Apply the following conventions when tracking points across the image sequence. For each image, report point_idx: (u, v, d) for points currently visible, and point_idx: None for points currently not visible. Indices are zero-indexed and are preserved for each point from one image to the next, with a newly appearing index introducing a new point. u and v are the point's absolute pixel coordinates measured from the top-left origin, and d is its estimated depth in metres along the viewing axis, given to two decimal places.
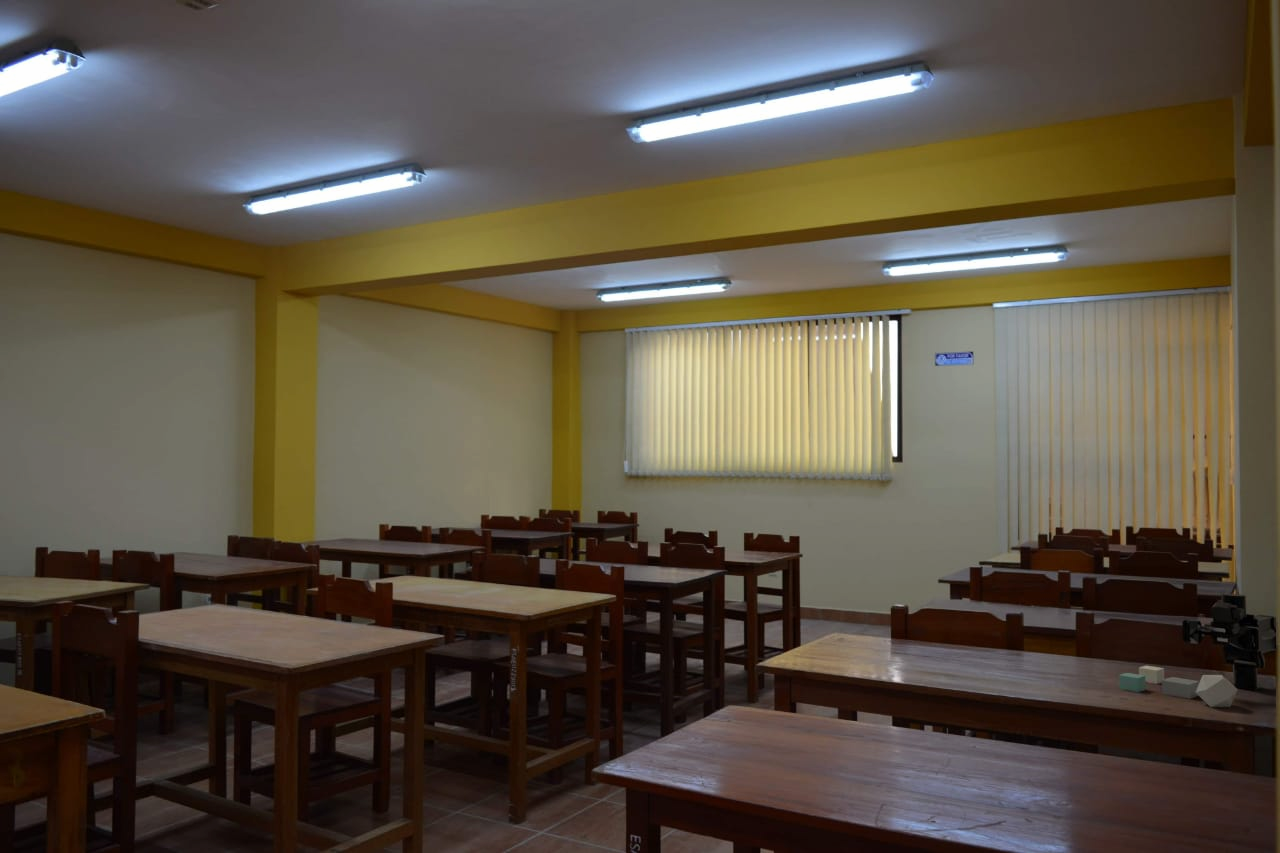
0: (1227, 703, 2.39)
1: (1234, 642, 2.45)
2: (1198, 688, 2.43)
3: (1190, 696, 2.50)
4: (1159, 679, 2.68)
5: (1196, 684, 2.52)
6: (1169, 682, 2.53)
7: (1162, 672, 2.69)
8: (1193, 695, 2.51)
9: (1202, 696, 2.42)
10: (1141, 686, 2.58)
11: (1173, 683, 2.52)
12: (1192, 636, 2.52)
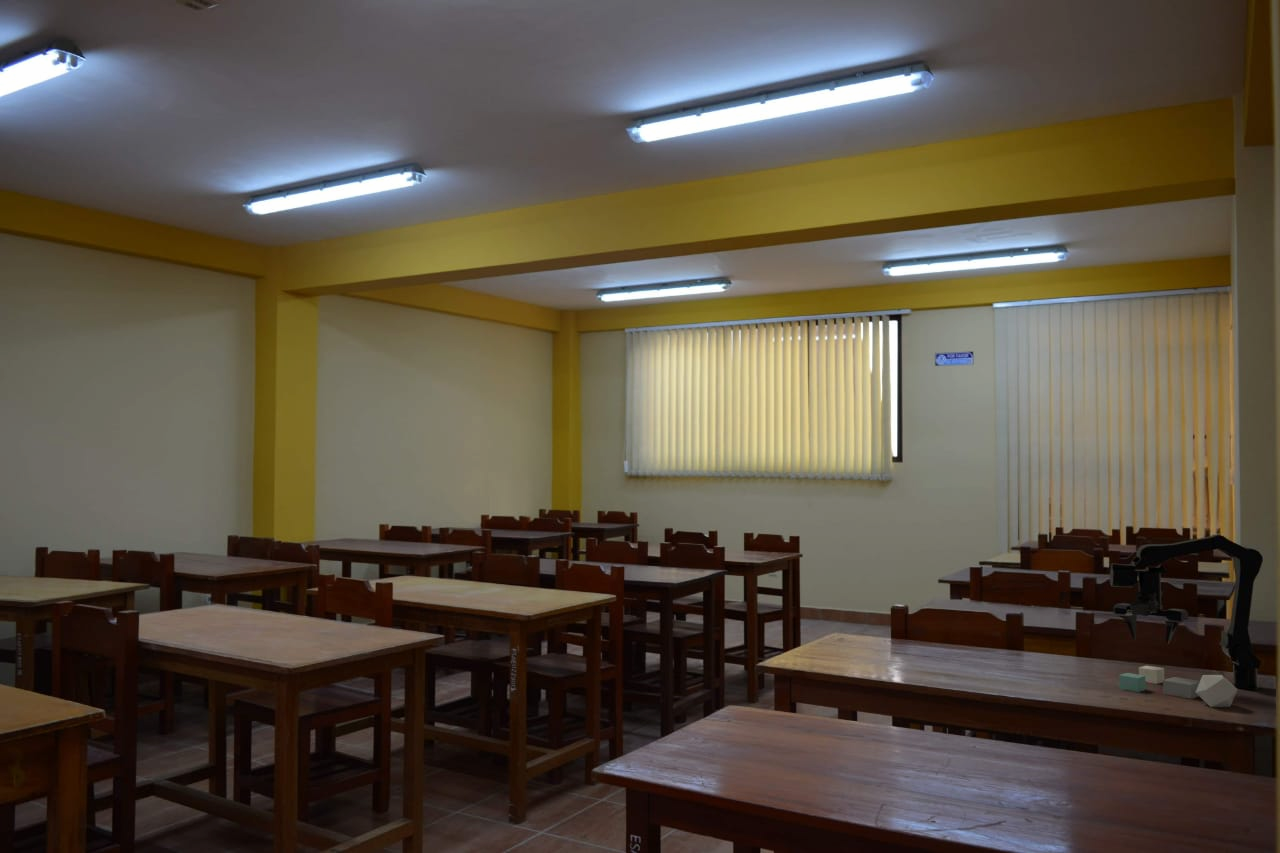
0: (1227, 703, 2.39)
1: (1171, 637, 2.67)
2: (1198, 688, 2.43)
3: (1191, 696, 2.50)
4: (1159, 679, 2.68)
5: (1197, 684, 2.52)
6: (1170, 682, 2.53)
7: (1162, 672, 2.69)
8: (1194, 695, 2.51)
9: (1202, 696, 2.42)
10: (1141, 686, 2.58)
11: (1174, 683, 2.52)
12: (1135, 636, 2.74)
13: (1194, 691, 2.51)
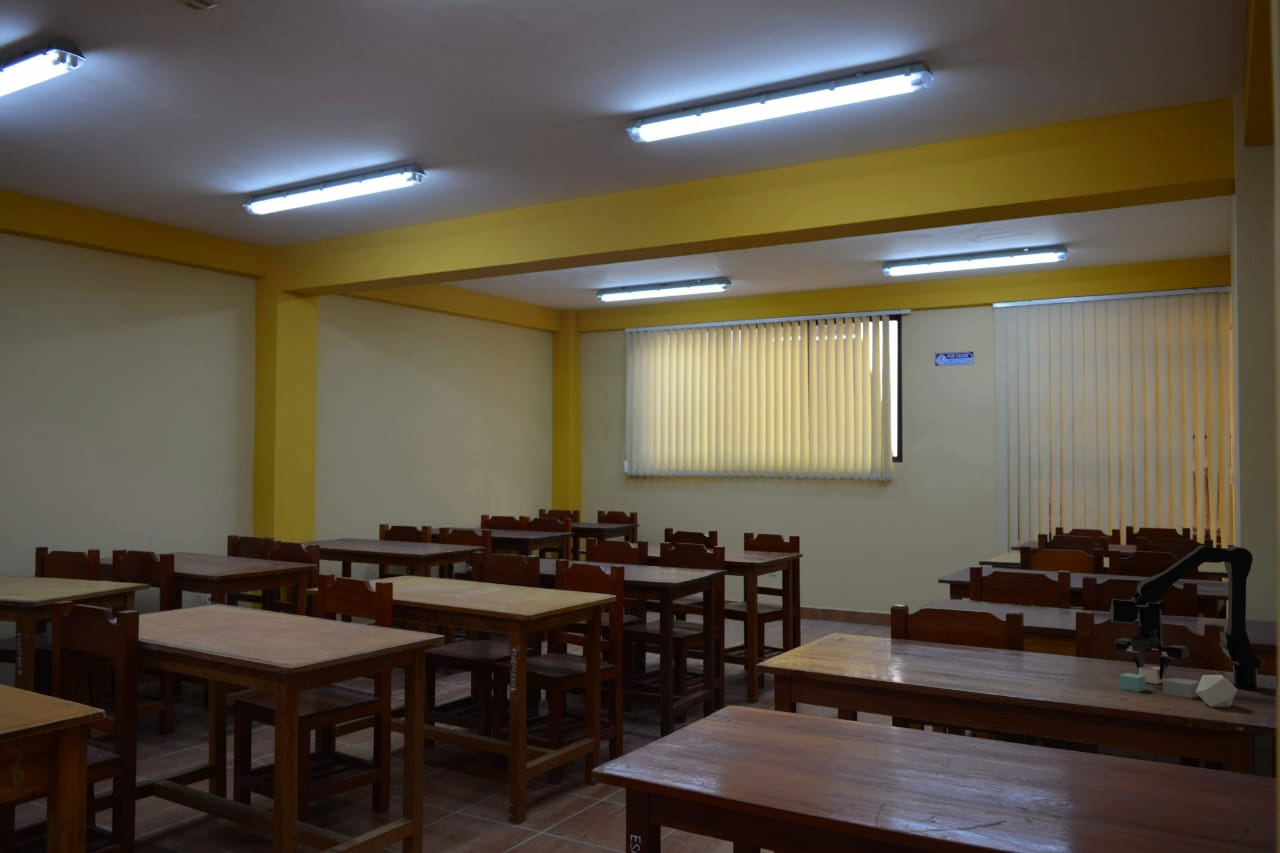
0: (1227, 703, 2.39)
1: (1165, 672, 2.68)
2: (1198, 688, 2.43)
3: (1191, 696, 2.50)
4: (1159, 679, 2.68)
5: (1197, 684, 2.52)
6: (1170, 682, 2.53)
7: None
8: (1194, 695, 2.51)
9: (1202, 696, 2.42)
10: (1141, 686, 2.58)
11: (1174, 683, 2.53)
12: None
13: (1194, 691, 2.51)
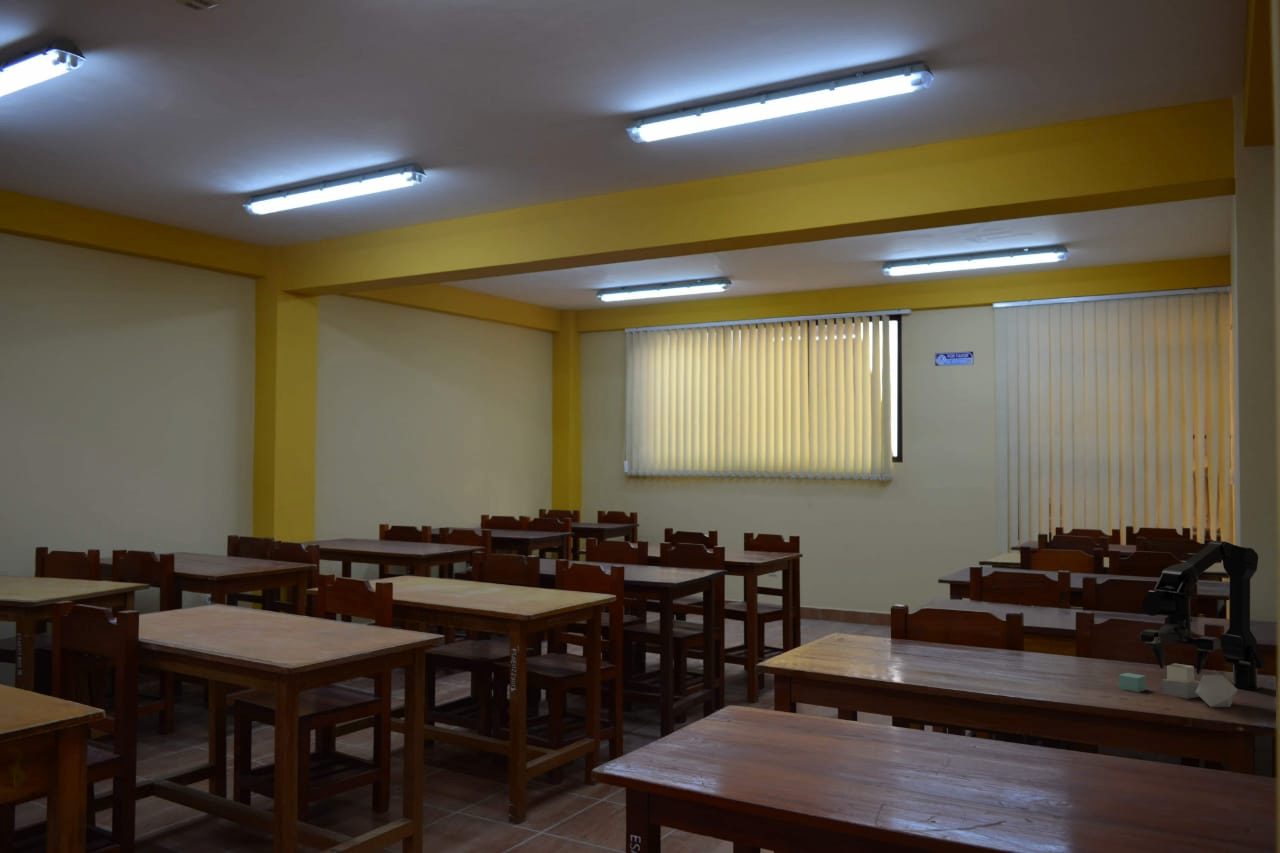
0: (1227, 703, 2.39)
1: (1202, 666, 2.51)
2: (1198, 688, 2.43)
3: (1188, 696, 2.50)
4: (1189, 678, 2.52)
5: (1197, 685, 2.52)
6: (1169, 682, 2.54)
7: (1192, 670, 2.53)
8: (1193, 695, 2.51)
9: (1202, 696, 2.42)
10: (1141, 686, 2.58)
11: (1172, 683, 2.53)
12: (1163, 665, 2.58)
13: (1192, 691, 2.51)
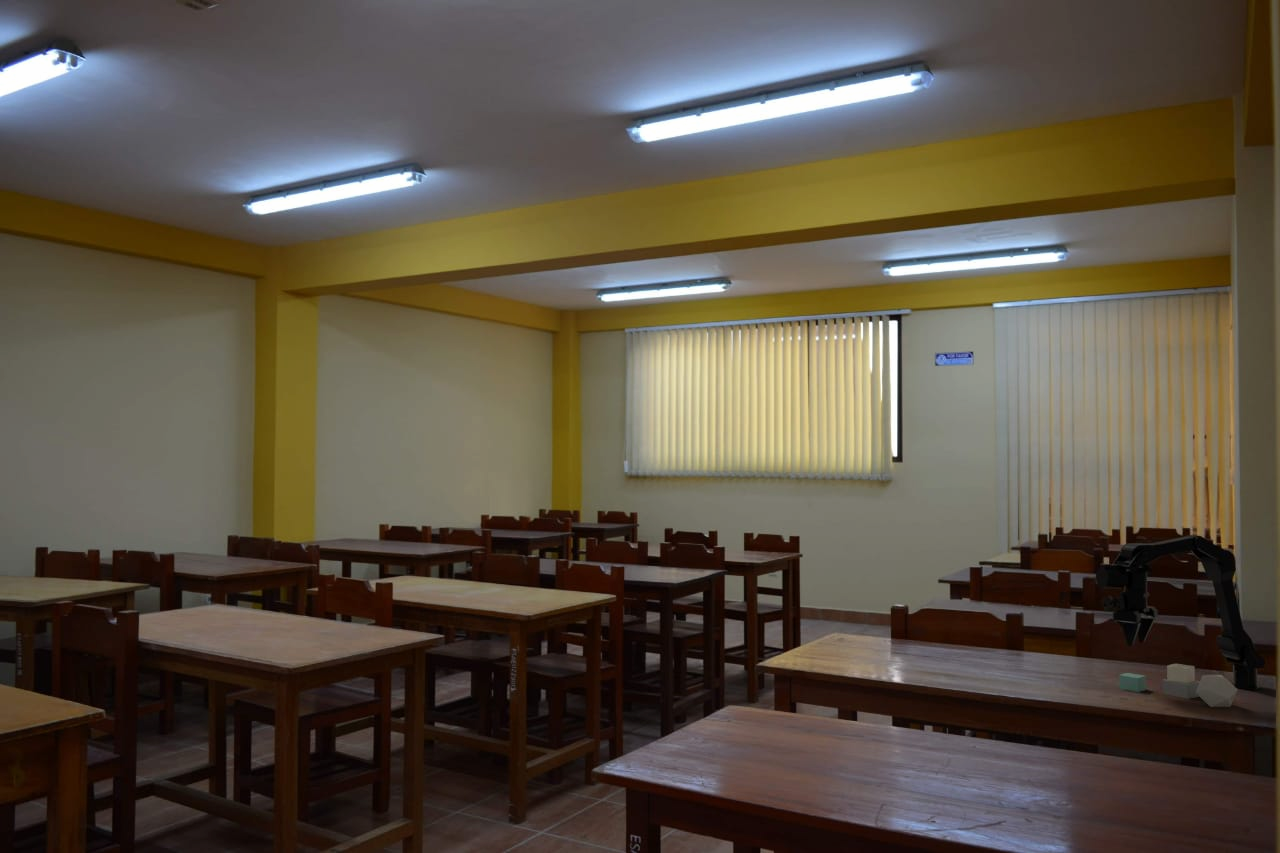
0: (1227, 703, 2.39)
1: (1131, 639, 2.56)
2: (1198, 688, 2.43)
3: (1188, 696, 2.50)
4: (1189, 678, 2.52)
5: (1197, 685, 2.52)
6: (1169, 682, 2.54)
7: (1192, 670, 2.53)
8: (1193, 695, 2.50)
9: (1202, 696, 2.42)
10: (1141, 686, 2.58)
11: (1172, 683, 2.53)
12: (1141, 639, 2.63)
13: (1192, 691, 2.50)
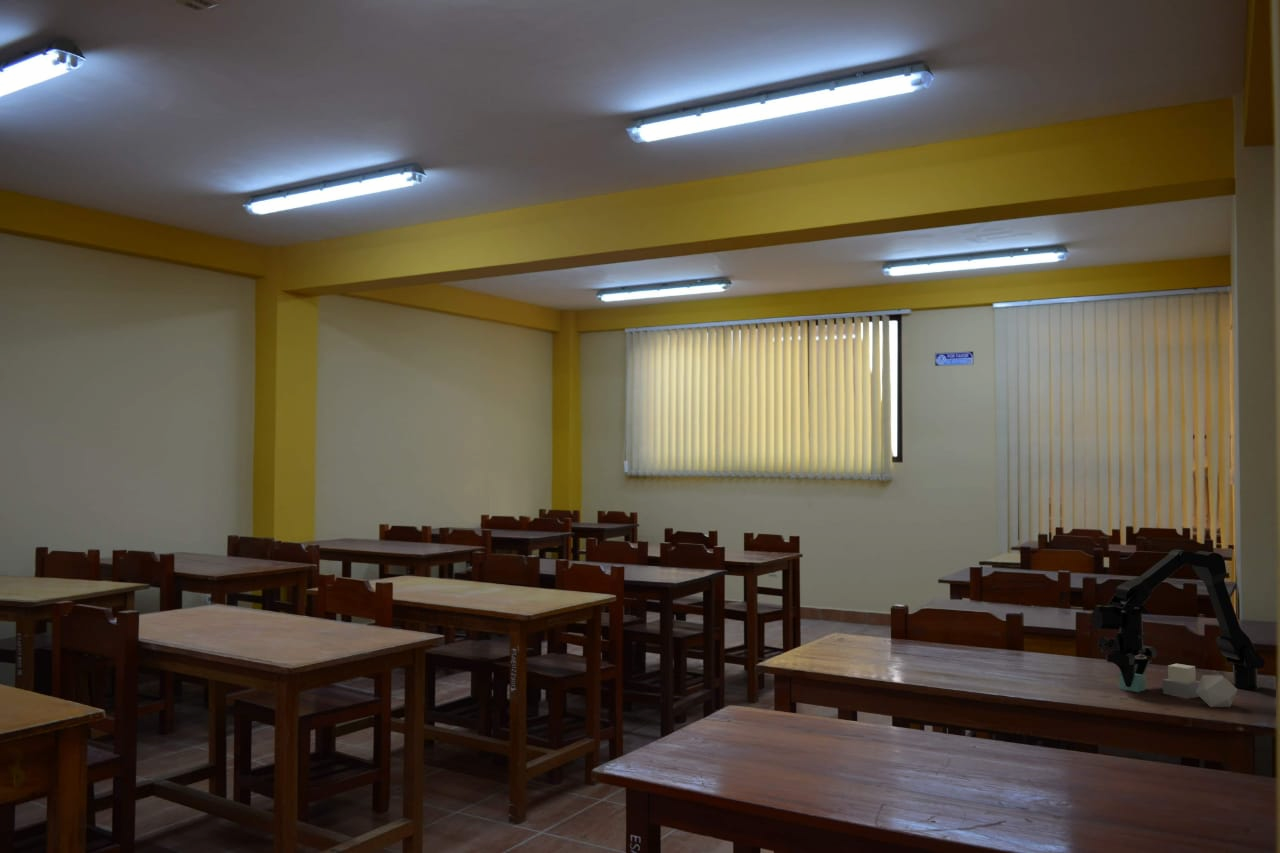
0: (1227, 703, 2.39)
1: (1129, 680, 2.58)
2: (1198, 688, 2.43)
3: (1189, 696, 2.50)
4: (1190, 678, 2.52)
5: None
6: (1169, 681, 2.54)
7: (1193, 670, 2.53)
8: (1193, 695, 2.50)
9: (1202, 696, 2.42)
10: (1141, 685, 2.58)
11: (1173, 683, 2.53)
12: None
13: (1193, 691, 2.50)
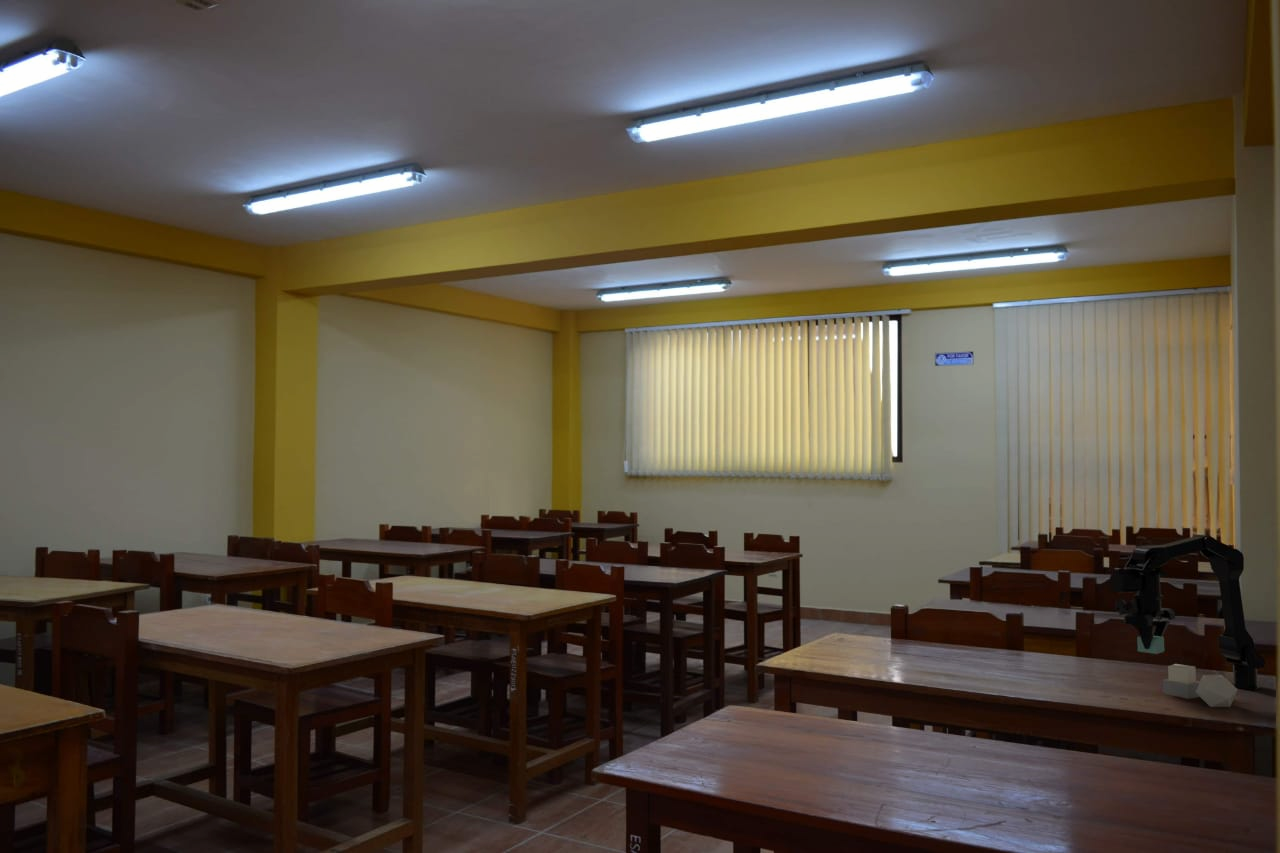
0: (1227, 703, 2.39)
1: (1147, 642, 2.56)
2: (1198, 688, 2.43)
3: (1189, 696, 2.50)
4: (1190, 678, 2.52)
5: None
6: (1170, 682, 2.54)
7: (1193, 671, 2.53)
8: (1194, 695, 2.50)
9: (1202, 696, 2.42)
10: (1160, 647, 2.57)
11: (1173, 683, 2.53)
12: None
13: (1193, 691, 2.50)
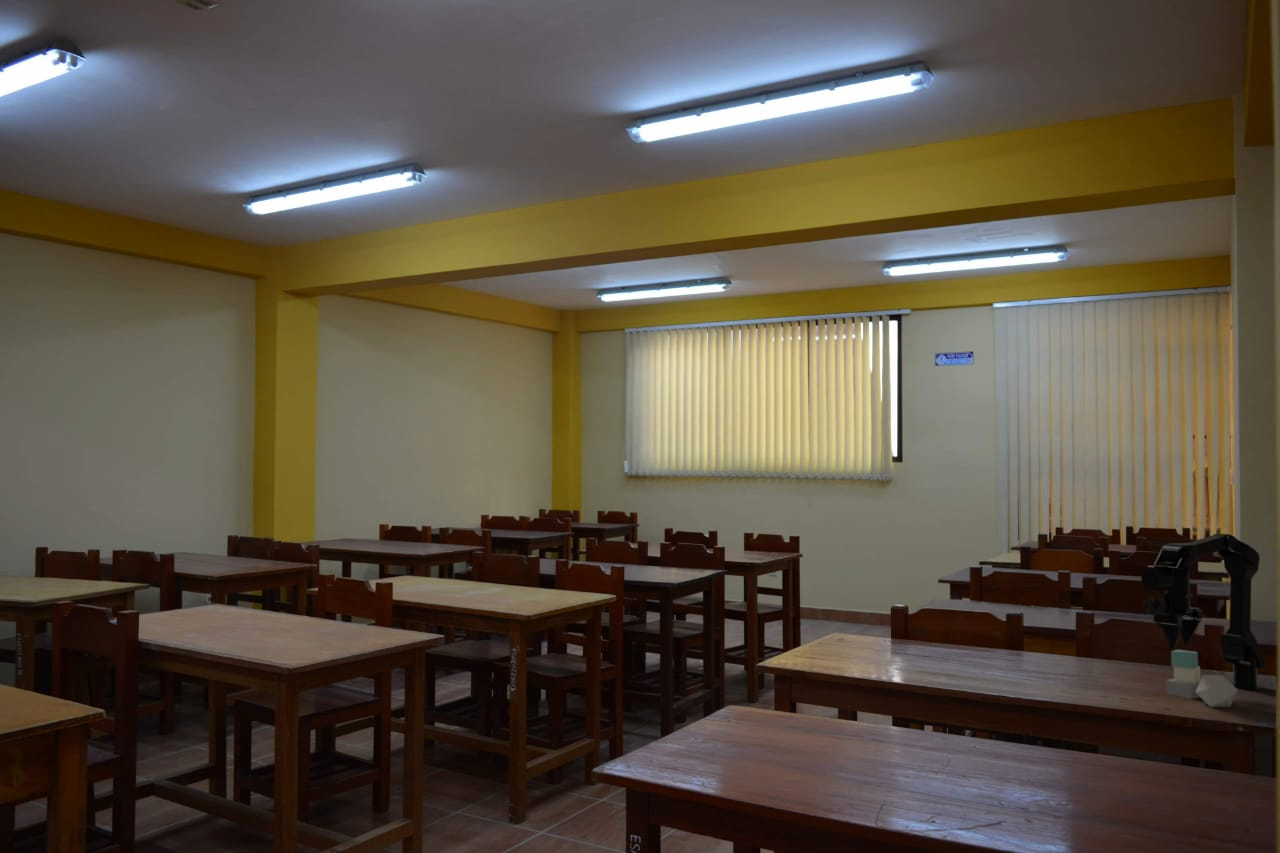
0: (1227, 703, 2.39)
1: (1173, 641, 2.51)
2: (1198, 688, 2.43)
3: (1192, 696, 2.49)
4: (1196, 679, 2.52)
5: None
6: (1172, 682, 2.54)
7: (1198, 671, 2.53)
8: (1196, 696, 2.50)
9: (1202, 696, 2.42)
10: (1194, 662, 2.52)
11: (1176, 683, 2.53)
12: (1186, 641, 2.57)
13: None
